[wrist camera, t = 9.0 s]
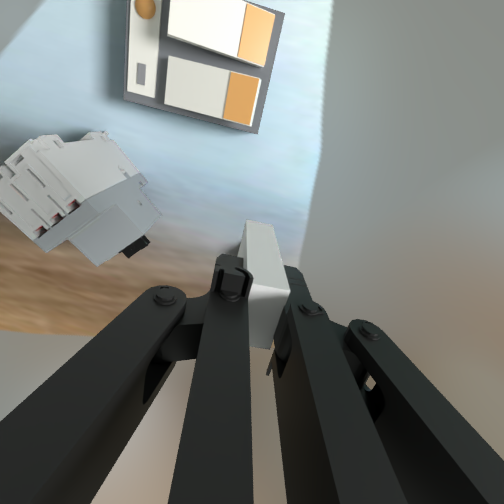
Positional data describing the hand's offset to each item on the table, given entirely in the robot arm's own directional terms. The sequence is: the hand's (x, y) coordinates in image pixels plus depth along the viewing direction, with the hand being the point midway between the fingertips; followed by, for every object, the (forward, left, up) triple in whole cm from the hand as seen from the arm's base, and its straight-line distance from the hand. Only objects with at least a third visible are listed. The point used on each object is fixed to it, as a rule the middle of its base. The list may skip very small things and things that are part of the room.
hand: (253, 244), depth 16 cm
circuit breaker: (-17, -7, -27) cm, 32 cm away
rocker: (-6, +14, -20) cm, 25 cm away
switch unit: (-8, +11, -26) cm, 30 cm away
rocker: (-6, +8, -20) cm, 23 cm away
